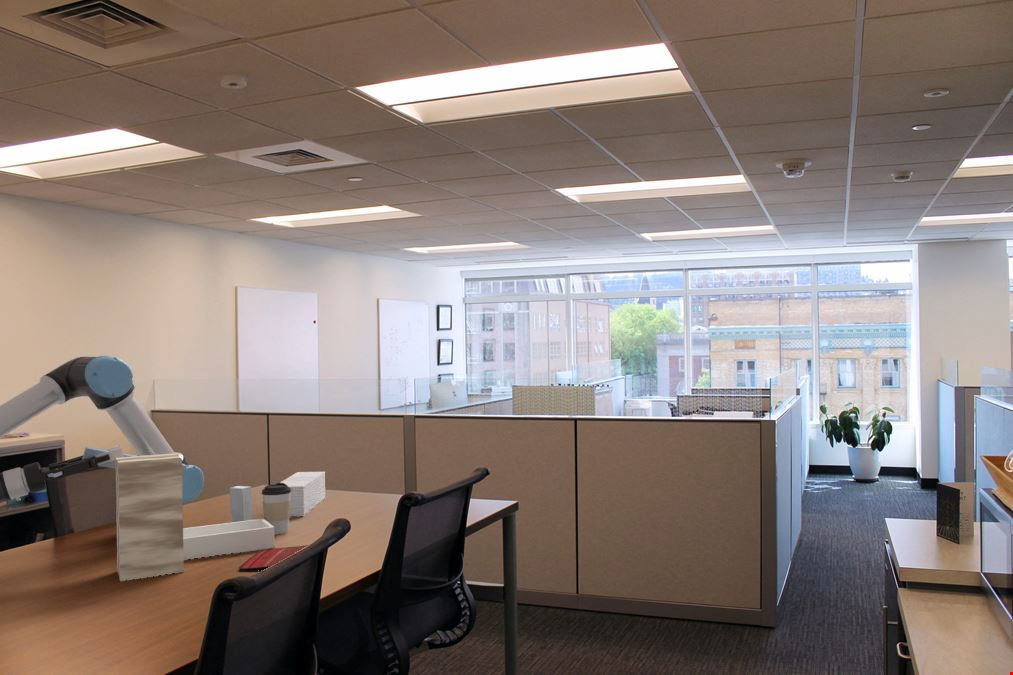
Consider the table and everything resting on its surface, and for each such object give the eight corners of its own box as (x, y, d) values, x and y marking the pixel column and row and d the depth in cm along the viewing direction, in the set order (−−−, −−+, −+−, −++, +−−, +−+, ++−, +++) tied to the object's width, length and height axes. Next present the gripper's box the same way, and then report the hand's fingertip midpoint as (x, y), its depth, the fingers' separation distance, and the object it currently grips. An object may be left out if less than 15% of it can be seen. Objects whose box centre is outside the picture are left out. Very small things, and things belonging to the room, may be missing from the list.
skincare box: (253, 522, 269) (252, 486, 269) (243, 525, 265) (242, 488, 265) (239, 521, 272) (239, 485, 272) (229, 523, 268) (229, 487, 268)
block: (81, 461, 217) (85, 446, 218) (180, 477, 230) (184, 464, 230) (82, 463, 214) (86, 448, 214) (182, 480, 226) (186, 466, 227)
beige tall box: (117, 571, 212) (115, 457, 213) (178, 562, 220) (176, 453, 220) (120, 581, 203) (118, 462, 203) (183, 572, 210) (181, 457, 210)
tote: (146, 553, 230) (146, 532, 230) (263, 538, 246) (263, 518, 246) (151, 565, 218) (151, 542, 218) (274, 547, 234) (274, 527, 234)
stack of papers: (297, 500, 308) (297, 472, 308) (325, 499, 308) (324, 471, 308) (273, 518, 276) (272, 486, 276) (304, 517, 276) (303, 486, 276)
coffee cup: (283, 535, 249) (282, 487, 249) (256, 534, 251) (255, 486, 251) (296, 529, 258) (296, 482, 258) (270, 528, 259) (270, 481, 260)
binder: (317, 543, 230) (296, 564, 209) (317, 551, 230) (297, 572, 209) (261, 546, 230) (236, 567, 209) (262, 555, 230) (236, 576, 209)
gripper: (30, 488, 217) (122, 459, 228) (29, 499, 202) (128, 468, 214) (22, 462, 216) (115, 434, 227) (20, 471, 201) (120, 441, 213)
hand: (121, 451), depth 220 cm, fingers closed on block, 4 cm apart
